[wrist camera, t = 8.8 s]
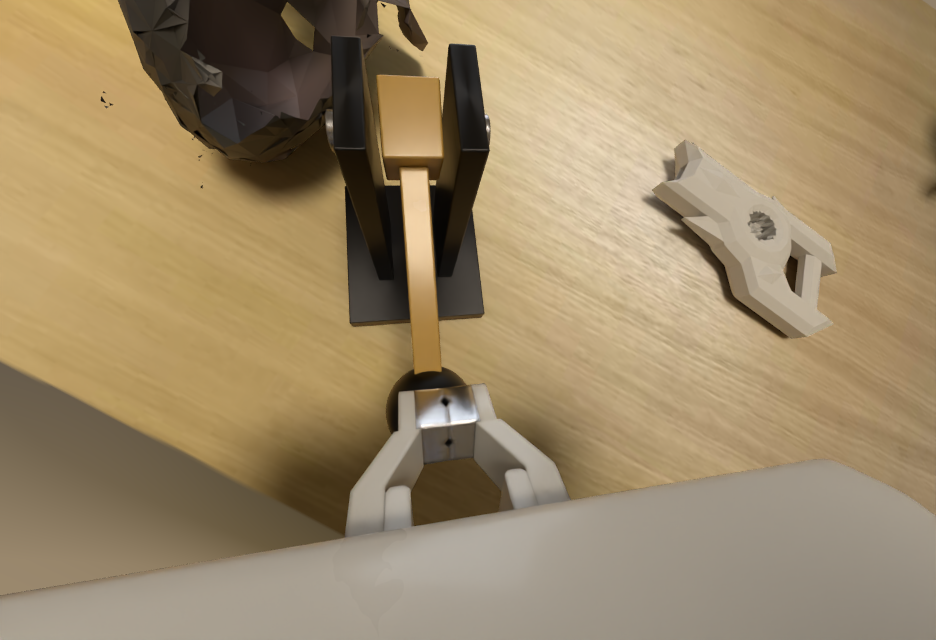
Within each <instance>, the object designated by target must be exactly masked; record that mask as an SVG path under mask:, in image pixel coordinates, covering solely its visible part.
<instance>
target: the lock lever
mask: <svg viewBox="0 0 936 640" xmlns="http://www.w3.org/2000/svg"><path fill="white" fill-rule="evenodd" d="M376 83H377V96H378V109H379V122H380V135H381V148H382V158H383V163H384V168H385V172H386V177H387V179H388V180H400V188H401V201H402V215H403V228H404V242H405V255H406V269H407V282H408V296H409V310H410V323H411V337H412V350H413V364H414V369H413V370H411V371H409V372H408V373H406V374H405V375H403V376H402V377H401V378H400V379H399V380H398V381H397V382H396V384H395V385H394V386H393V388H392V390H391V392H390V394H389V397H388V400H387V404H386V420H387V424H388V427H389V430H390V432H391V434H393V432H396V431H398V395H399V392H403V391H414V390H425V389H438V388H446V387H455V386H464V385H466V384H465V382H464V381H463V380H462V379H461V378H460V377H459V376H458V375H457V374H456V373H454V372H453V371H451V370H449V369H446V368H444V367H442V366H441V351H440V335H439V320H438V305H437V290H436V275H435V260H434V245H433V230H432V214H431V199H430V184H429V180H438V179H439V176H440V172H441V168H442V164H443V160H444V143H443V127H442V110H441V94H440V80H439V78H437V77H419V76H399V75H377V76H376ZM414 397H415V396H414Z"/></svg>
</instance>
